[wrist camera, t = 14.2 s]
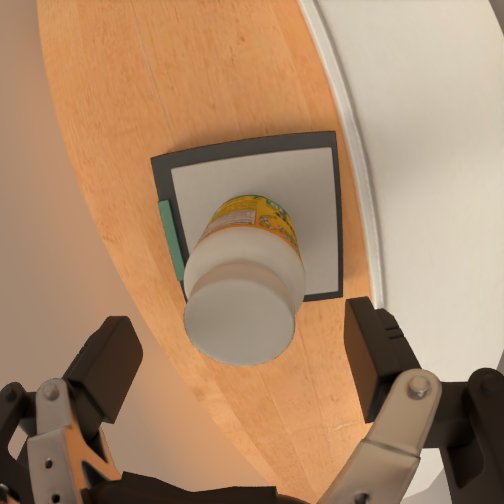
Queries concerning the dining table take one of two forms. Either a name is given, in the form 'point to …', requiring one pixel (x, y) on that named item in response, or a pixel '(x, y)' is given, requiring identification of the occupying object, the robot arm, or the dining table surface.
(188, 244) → the scale
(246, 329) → the supplement bottle
